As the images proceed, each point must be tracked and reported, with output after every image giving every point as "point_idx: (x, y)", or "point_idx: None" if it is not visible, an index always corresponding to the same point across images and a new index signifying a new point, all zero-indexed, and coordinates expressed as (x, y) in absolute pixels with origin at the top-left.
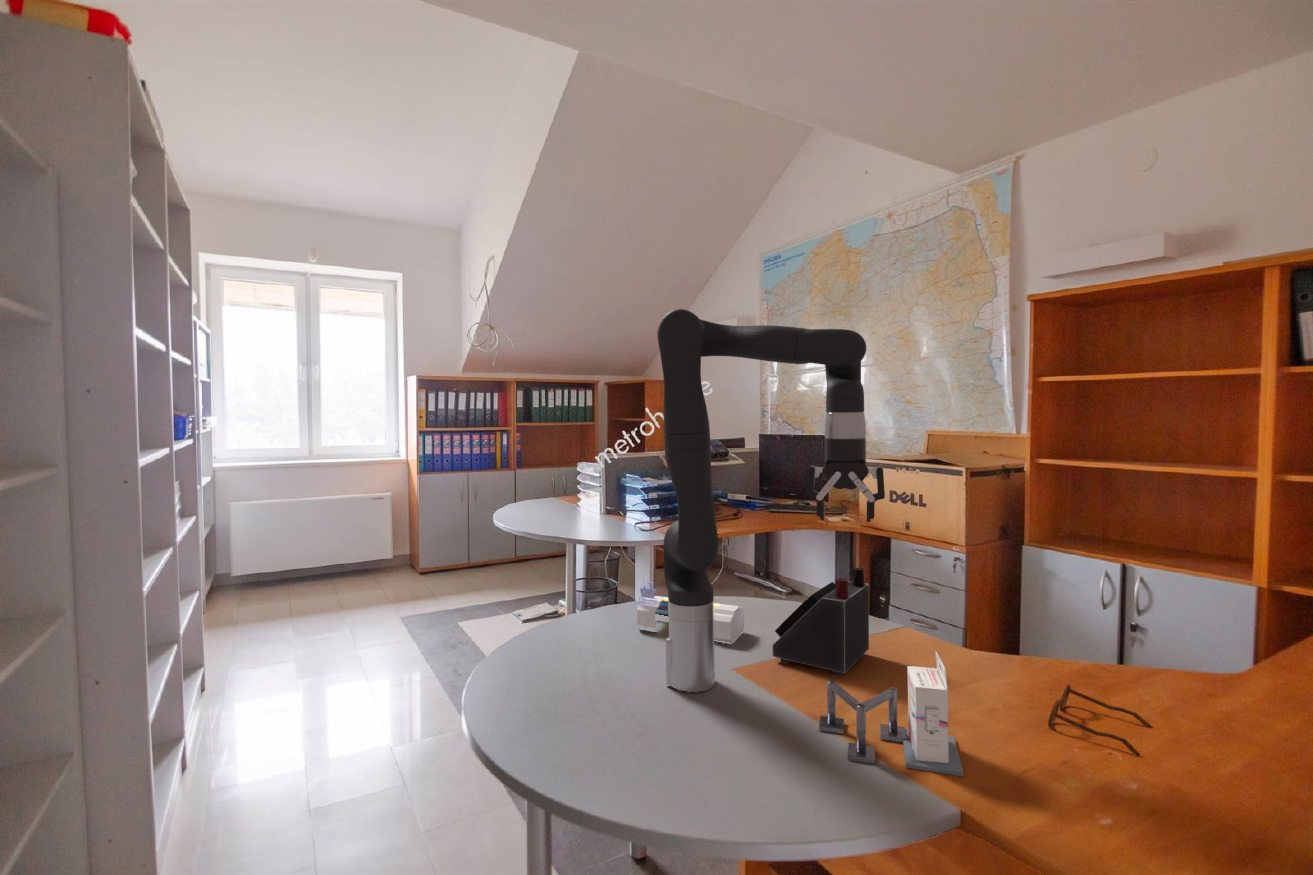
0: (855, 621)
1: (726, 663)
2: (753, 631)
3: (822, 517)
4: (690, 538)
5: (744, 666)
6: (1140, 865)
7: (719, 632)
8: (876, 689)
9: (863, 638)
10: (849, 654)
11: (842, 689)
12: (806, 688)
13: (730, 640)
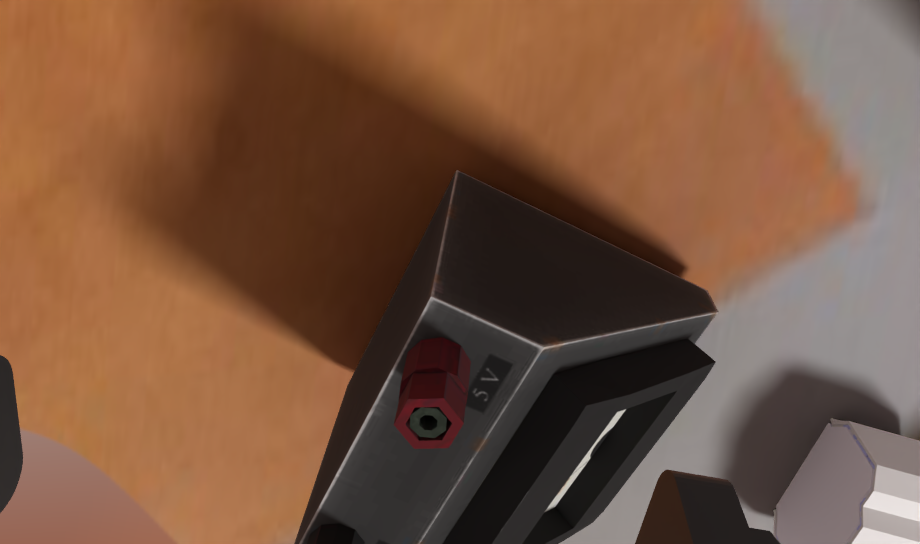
0: (383, 350)
1: (883, 256)
2: None
3: (699, 484)
4: None
5: (817, 236)
6: None
7: (899, 446)
8: (356, 93)
9: (360, 371)
10: (429, 233)
11: None
12: (609, 69)
13: (846, 421)
